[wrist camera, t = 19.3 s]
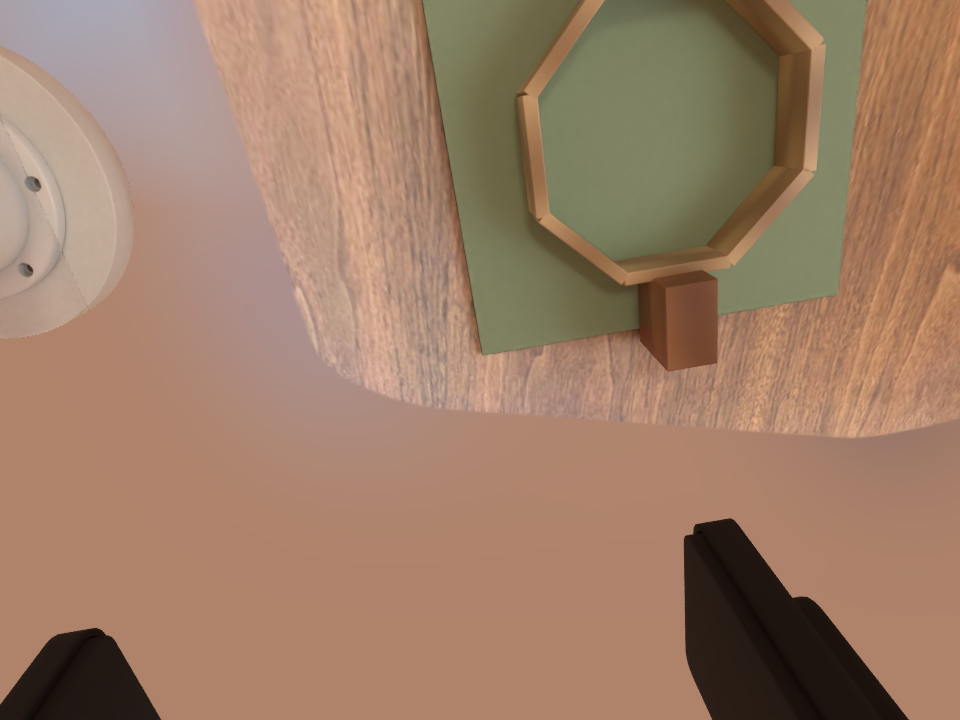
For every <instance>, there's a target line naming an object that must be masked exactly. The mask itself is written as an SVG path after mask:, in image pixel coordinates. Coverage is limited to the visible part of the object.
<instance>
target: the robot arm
mask: <svg viewBox="0 0 960 720" xmlns="http://www.w3.org/2000/svg"><path fill="white" fill-rule="evenodd" d="M39 182H40V183H41V185H40V183H39ZM64 238H65V211H64V206H63V201H62V196H61V193H60V191H59V188H58V186H57V183H56V181H55V178H54V176H53V174H52V172H51V170H50V169H49V167H48V165H47V164H46V162H45V160H44V159H43V157H42V155H41V154H40V153H39V151H38V150H37V149H36V148H35V147H34V145H33V144H32V143H31V142H30V140H29V139H28V138H27V137H26V136H25V135H24V134H23V133H22V132H21V131H20V130H19V129H18V128H17V127H16V126H15V125H13V124H12V123H11V122H10V121H9V120H8V119H7V118H5V117H4V116H3V115H1V114H0V299H2V298H6V297H9V296H13V295H15V294H18V293H20V292H22V291H24V290H27V289H29V288H31V287H32V286H34V285H35V284H36V283H38V282H39V281H41V280H42V279H43V278H44V277H45V276H46V275H47V274H48V273H49V272H50V270H51V269H52V268H53V267H54V265H55V263H56V261H57V259H58V257H59V255H60V253H61V251H62V247H63V242H64ZM684 578H685V579H684V580H685V641H686V656H687V661H688V665H689V668H690V671H691V673H692V675H693V678H694V681H695V683H696V685H697V687H698V689H699V692H700V694H701V696H702V698H703V700H704V702H705V705H706V707H707V709H708V711H709V713H710V716H711V718H712V720H909V719H908V718H907V717H906V716H905V714H904V713H903V712H902V710H901V709H900V708H899V707H898V705H897V704H896V703H895V702H894V700H893V699H892V698H891V696H890V695H889V694H888V693H887V691H886V690H885V689H884V688H883V686H882V685H881V684H880V683H879V681H878V680H877V679H876V677H875V676H874V675H873V673H872V672H871V671H870V670H869V668H868V667H867V666H866V665H865V663H864V662H863V661H862V659H861V658H860V657H859V656H858V655H857V653H856V652H855V651H854V649H853V648H852V647H851V645H850V644H849V643H848V642H847V640H846V639H845V638H844V637H843V635H842V634H841V633H840V631H839V630H838V629H837V628H836V626H835V625H834V624H833V623H832V621H831V620H830V619H829V617H828V616H827V615H826V614H825V612H824V611H823V610H822V609H821V608H820V607H819V606H818V605H817V604H816V603H815V602H814V601H813V600H811V599H810V598H808V597H795V598H792V597H791V595H789V593H788V591H787V590H786V589H785V587H784V586H783V585H782V583H781V582H780V581H779V579H778V578H777V577H776V575H775V574H774V572H773V571H772V570H771V568H770V567H769V566H768V564H767V563H766V562H765V560H764V559H763V558H762V556H761V555H760V553H759V552H758V551H757V550H756V548H755V547H754V546H753V544H752V543H751V541H750V540H749V539H748V537H747V536H746V535H745V533H744V532H743V531H742V529H741V528H740V527H739V525H738V524H737V523H736V522H735V521H734V520H733V519H731V518H730V519H724V520H718V521H712V522H706V523H701V524H696V525H695V526H694V532H693V534H692V535H687V536H685V538H684ZM0 720H161V719H160V717H159V715H158V714H157V712H156V710H155V708H154V707H153V705H152V703H151V702H150V700H149V698H148V697H147V695H146V693H145V691H144V690H143V688H142V686H141V685H140V683H139V681H138V679H137V678H136V676H135V674H134V673H133V671H132V669H131V667H130V666H129V664H128V663H127V661H126V659H125V657H124V655H123V654H122V652H121V650H120V649H119V647H118V645H117V643H116V642H115V640H114V639H113V638H112V637H110V636H106V635H105V633H104V632H103V631H102V630H100V629H98V628H93V629H86V630H80V631H74V632H69V633H63V634H58V635H56V636H54V637H52V638H51V639H50V640H49V641H48V642H47V643H46V645H45V646H44V647H43V648H42V650H41V651H40V653H39V654H38V655H37V656H36V658H35V659H34V661H33V662H32V663H31V665H30V666H29V667H28V669H27V670H26V671H25V672H24V674H23V675H22V676H21V678H20V679H19V680H18V682H17V683H16V684H15V686H14V687H13V688H12V690H11V691H10V692H9V694H8V695H7V697H6V698H5V699H4V700H3V702H2V703H1V704H0Z"/></svg>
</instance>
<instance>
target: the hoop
mask: <svg viewBox="0 0 960 720" xmlns="http://www.w3.org/2000/svg"><path fill="white" fill-rule="evenodd" d="M604 1H605V0H579V1H578V3H577V4H576V6H575V7H574V9H573V10H572V11H571V13H570V14H569V16H568V17H567V19H566V20H565V22H564V23H563V25H562V26H561V28H560V29H559V31H558V32H557V34H556V35H555V37H554V38H553V40H552V41H551V43H550V44H549V45H548V47H547V48H546V50H545V51H544V53H543V54H542V56H541V57H540V59H539V60H538V62H537V63H536V65H535V66H534V68H533V69H532V71H531V72H530V74H529V75H528V77H527V78H526V79H525V81H524V82H523V84H522V85H521V87H520V88H519V90H518V91H517V95H518V96H520V97H517V98H515V102H516V111H517V119H518V127H519V135H520V144H521V152H522V160H523V168H524V177H525V185H526V193H527V201H528V210H529V212H530V213H531V215H532V216H533V218H534V219H535V220H536V221H537V222H538V223H539V224H541V225H542V226H543V227H545V228H546V229H547V230H548V231H550V232H551V233H552V234H554V235H555V236H556V237H558V238H559V239H560V240H562V241H563V242H564V243H566V244H567V245H568V246H570V247H571V248H572V249H574V250H575V251H576V252H578V253H579V254H580V255H582V256H583V257H584V258H586V259H587V260H588V261H590V262H591V263H592V264H594V265H595V266H596V267H597V268H599V269H600V270H601V271H603V272H604V273H605V274H607V275H608V276H609V277H611V278H612V279H613V280H615V281H616V282H617V283H619V284H620V285H622V284H624V285H625V286H629V285H634V284H638V304H639V325H640V341H641V343H642V344H643V345H644V346H645V347H646V348H647V349H648V350H649V351H650V353H651V354H652V355H653V356H654V357H655V358H656V359H657V360H658V361H659V362H660V364H661V365H662V366H663V367H664V368H665V369H666V370H667V371H674V370H679V369H685V368H691V367H697V366H703V365H709V364H714V363H717V338H718V279H717V278H716V277H714V276H712V275H710V274H709V273H707V272H710V271H716V270H722V269H727V268H730V264H731V265H733V266H735V265H736V263H737V262H738V261H739V260H740V259H741V258H742V257H743V256H744V254H745V253H746V252H747V251H748V250H749V249H750V248H751V246H752V245H753V244H754V243H755V242H756V241H757V240H758V239H759V237H760V236H761V235H762V234H763V233H764V232H765V231H766V230H767V228H768V227H769V226H770V225H771V224H772V223H773V222H774V220H775V219H776V218H777V217H778V216H779V215H780V214H781V213H782V211H783V210H784V209H785V208H786V207H787V206H788V205H789V204H790V202H791V201H792V200H793V199H794V198H795V197H796V196H797V194H798V193H799V192H800V191H801V190H802V189H803V188H804V187H805V185H806V184H807V183H808V182H809V181H810V180H811V179H812V178H813V176H814V174H813V173H812V171H816V168H817V155H818V142H819V129H820V116H821V103H822V90H823V77H824V63H825V50H826V44H821V42H822V41H823V40H824V38H823V37H822V36H821V35H820V34H819V33H818V32H817V30H816V29H815V28H814V27H813V26H812V25H811V24H810V23H809V22H808V21H807V20H806V19H805V18H804V17H803V16H802V15H801V13H800V12H799V11H798V10H797V9H796V8H795V7H794V6H793V5H792V4H791V3H790V2H789V1H788V0H725V1H726V2H727V3H728V4H729V5H730V6H731V7H732V8H733V9H734V10H735V11H736V12H737V13H738V14H739V15H740V16H741V17H742V18H743V20H744V21H745V22H746V23H747V24H748V25H749V26H750V27H751V28H752V29H753V30H754V31H755V32H756V33H757V34H758V35H759V36H760V37H761V38H762V39H763V40H764V41H765V42H766V43H767V44H768V45H769V46H770V47H771V48H772V49H773V50H774V51H775V52H776V53H777V54H778V55H779V74H778V95H777V116H776V137H775V157H774V166H773V167H772V168H771V170H770V171H769V172H768V173H767V174H766V175H765V177H764V178H763V179H762V180H761V181H760V182H759V184H758V185H757V186H756V187H755V188H754V189H753V191H752V192H751V193H750V194H749V195H748V196H747V198H746V199H745V200H744V201H743V202H742V203H741V205H740V206H739V207H738V208H737V209H736V210H735V212H734V213H733V214H732V215H731V216H730V218H729V219H728V220H727V221H726V222H725V223H724V225H723V226H722V227H721V228H720V229H719V230H718V232H717V233H716V234H715V235H714V236H713V237H712V239H711V240H710V241H709V242H708V243H707V244H706V246H701V247H695V248H689V249H684V250H678V251H672V252H666V253H660V254H654V255H649V256H643V257H637V258H631V259H625V260H620V261H613V260H611V259H610V258H609V257H607V256H606V255H605V254H604V253H602V252H601V251H600V250H598V249H597V248H596V247H594V246H593V245H592V244H591V243H589V242H588V241H587V240H585V239H584V238H583V237H581V236H580V235H579V234H577V233H576V232H575V231H574V230H572V229H571V228H570V227H568V226H567V225H566V224H564V223H563V222H562V221H561V220H559V219H558V218H557V217H555V216H554V215H553V214H551V213H550V210H549V201H548V191H547V182H546V173H545V163H544V154H543V144H542V135H541V126H540V116H539V107H538V96H539V95H540V93H541V92H542V90H543V89H544V88H545V86H546V85H547V83H548V82H549V80H550V79H551V77H552V76H553V74H554V73H555V72H556V70H557V69H558V67H559V66H560V64H561V63H562V61H563V60H564V59H565V57H566V56H567V54H568V53H569V51H570V50H571V48H572V47H573V46H574V44H575V43H576V41H577V40H578V38H579V37H580V35H581V34H582V32H583V31H584V30H585V28H586V27H587V25H588V24H589V22H590V21H591V19H592V18H593V17H594V15H595V14H596V12H597V11H598V9H599V8H600V6H601V5H602V3H603V2H604Z"/></svg>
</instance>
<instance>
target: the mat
mask: <svg viewBox="0 0 960 720" xmlns="http://www.w3.org/2000/svg"><path fill="white" fill-rule="evenodd" d="M578 1H579V0H422V3H423V9H424V15H425V21H426V27H427V32H428V38H429V44H430V50H431V56H432V62H433V68H434V74H435V79H436V85H437V91H438V97H439V103H440V109H441V115H442V121H443V126H444V132H445V138H446V144H447V150H448V156H449V162H450V168H451V173H452V179H453V185H454V191H455V197H456V203H457V209H458V215H459V220H460V226H461V232H462V238H463V244H464V250H465V256H466V262H467V267H468V273H469V279H470V285H471V291H472V297H473V303H474V309H475V314H476V320H477V326H478V332H479V338H480V344H481V350H482V355H488V354H494V353H500V352H505V351H511V350H517V349H523V348H529V347H535V346H540V345H546V344H552V343H558V342H564V341H570V340H575V339H581V338H587V337H593V336H599V335H605V334H610V333H616V332H622V331H628V330H634V329H640V325H639V304H638V284H634V285H629V286H625V285H624V284H622V285H620V284H619V283H617V282H616V281H615V280H613V279H612V278H611V277H609V276H608V275H607V274H605V273H604V272H603V271H601V270H600V269H599V268H597V267H596V266H595V265H594V264H592V263H591V262H590V261H588V260H587V259H586V258H584V257H583V256H582V255H580V254H579V253H578V252H576V251H575V250H574V249H572V248H571V247H570V246H568V245H567V244H566V243H564V242H563V241H562V240H560V239H559V238H558V237H556V236H555V235H554V234H552V233H551V232H550V231H548V230H547V229H546V228H545V227H543V226H542V225H541V224H539V223H538V222H537V221H536V220H535V219H534V218H533V216H532V215H531V213H530V212H529V210H528V201H527V193H526V185H525V177H524V168H523V160H522V152H521V144H520V135H519V127H518V119H517V111H516V102H515V98H517V97H520V96H518V95H517V91H518V90H519V88H520V87H521V85H522V84H523V82H524V81H525V79H526V78H527V77H528V75H529V74H530V72H531V71H532V69H533V68H534V66H535V65H536V63H537V62H538V60H539V59H540V57H541V56H542V54H543V53H544V51H545V50H546V48H547V47H548V45H549V44H550V43H551V41H552V40H553V38H554V37H555V35H556V34H557V32H558V31H559V29H560V28H561V26H562V25H563V23H564V22H565V20H566V19H567V17H568V16H569V14H570V13H571V11H572V10H573V9H574V7H575V6H576V4H577V3H578ZM788 1H789V2H790V3H791V4H792V5H793V6H794V7H795V8H796V9H797V10H798V11H799V12H800V13H801V15H802V16H803V17H804V18H805V19H806V20H807V21H808V22H809V23H810V24H811V25H812V26H813V27H814V28H815V29H816V30H817V32H818V33H819V34H820V35H821V36H822V37H823V38H824V40H823V41H822V42H821V44H826V50H825V63H824V77H823V90H822V103H821V116H820V129H819V142H818V155H817V168H816V171H812V173H813V174H814V176H813V178H812V179H811V180H810V181H809V182H808V183H807V184H806V185H805V187H804V188H803V189H802V190H801V191H800V192H799V193H798V194H797V196H796V197H795V198H794V199H793V200H792V201H791V202H790V204H789V205H788V206H787V207H786V208H785V209H784V210H783V211H782V213H781V214H780V215H779V216H778V217H777V218H776V219H775V220H774V222H773V223H772V224H771V225H770V226H769V227H768V228H767V230H766V231H765V232H764V233H763V234H762V235H761V236H760V237H759V239H758V240H757V241H756V242H755V243H754V244H753V245H752V246H751V248H750V249H749V250H748V251H747V252H746V253H745V254H744V256H743V257H742V258H741V259H740V260H739V261H738V262H737V263H736V265H735V266H733V265H731V264H730V268H727V269H722V270H716V271H710V272H707V273H709V274H710V275H712V276H714V277H716V278H717V279H718V315H721V314H727V313H733V312H739V311H744V310H750V309H756V308H762V307H768V306H774V305H779V304H785V303H791V302H797V301H803V300H809V299H814V298H820V297H826V296H832V295H837V294H838V284H839V274H840V264H841V254H842V244H843V234H844V224H845V214H846V204H847V194H848V184H849V174H850V164H851V154H852V144H853V134H854V124H855V114H856V104H857V94H858V84H859V74H860V63H861V53H862V43H863V33H864V23H865V13H866V3H867V0H788ZM778 74H779V55H778V54H777V53H776V52H775V51H774V50H773V49H772V48H771V47H770V46H769V45H768V44H767V43H766V42H765V41H764V40H763V39H762V38H761V37H760V36H759V35H758V34H757V33H756V32H755V31H754V30H753V29H752V28H751V27H750V26H749V25H748V24H747V23H746V22H745V21H744V20H743V18H742V17H741V16H740V15H739V14H738V13H737V12H736V11H735V10H734V9H733V8H732V7H731V6H730V5H729V4H728V3H727V2H726V1H725V0H605V1H604V2H603V3H602V5H601V6H600V8H599V9H598V11H597V12H596V14H595V15H594V17H593V18H592V19H591V21H590V22H589V24H588V25H587V27H586V28H585V30H584V31H583V32H582V34H581V35H580V37H579V38H578V40H577V41H576V43H575V44H574V46H573V47H572V48H571V50H570V51H569V53H568V54H567V56H566V57H565V59H564V60H563V61H562V63H561V64H560V66H559V67H558V69H557V70H556V72H555V73H554V74H553V76H552V77H551V79H550V80H549V82H548V83H547V85H546V86H545V88H544V89H543V90H542V92H541V93H540V95H539V96H538V107H539V116H540V126H541V135H542V144H543V154H544V163H545V173H546V182H547V191H548V201H549V210H550V213H551V214H553V215H554V216H555V217H557V218H558V219H559V220H561V221H562V222H563V223H564V224H566V225H567V226H568V227H570V228H571V229H572V230H574V231H575V232H576V233H577V234H579V235H580V236H581V237H583V238H584V239H585V240H587V241H588V242H589V243H591V244H592V245H593V246H594V247H596V248H597V249H598V250H600V251H601V252H602V253H604V254H605V255H606V256H607V257H609V258H610V259H611V260H613V261H620V260H625V259H631V258H637V257H643V256H649V255H654V254H660V253H666V252H672V251H678V250H684V249H689V248H695V247H701V246H706V244H707V243H708V242H709V241H710V240H711V239H712V237H713V236H714V235H715V234H716V233H717V232H718V230H719V229H720V228H721V227H722V226H723V225H724V223H725V222H726V221H727V220H728V219H729V218H730V216H731V215H732V214H733V213H734V212H735V210H736V209H737V208H738V207H739V206H740V205H741V203H742V202H743V201H744V200H745V199H746V198H747V196H748V195H749V194H750V193H751V192H752V191H753V189H754V188H755V187H756V186H757V185H758V184H759V182H760V181H761V180H762V179H763V178H764V177H765V175H766V174H767V173H768V172H769V171H770V170H771V168H772V167H773V166H774V157H775V137H776V116H777V95H778Z"/></svg>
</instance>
